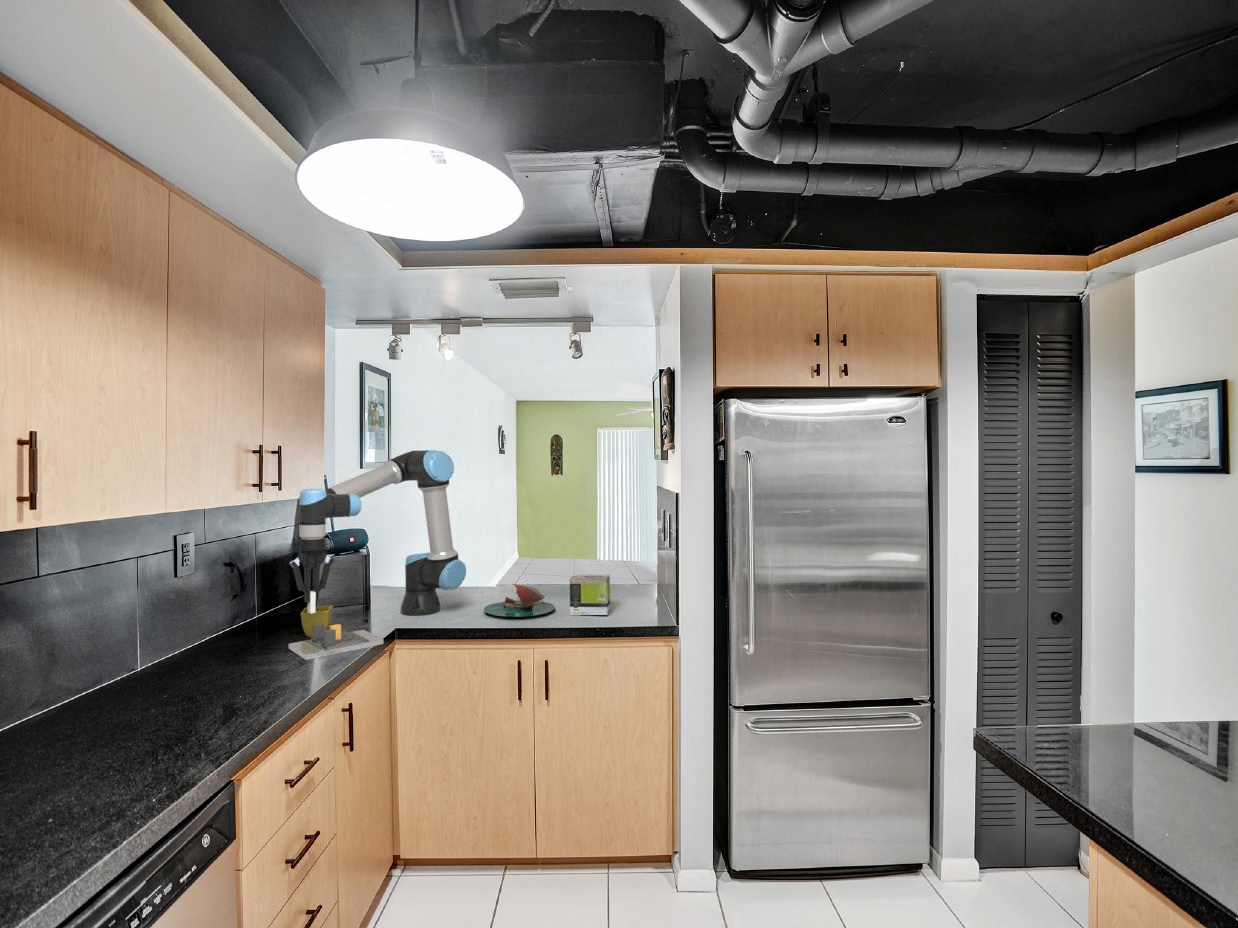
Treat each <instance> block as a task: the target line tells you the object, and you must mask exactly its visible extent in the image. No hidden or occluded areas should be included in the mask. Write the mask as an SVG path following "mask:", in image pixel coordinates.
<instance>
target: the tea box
mask: <svg viewBox="0 0 1238 928" xmlns="http://www.w3.org/2000/svg"><path fill="white" fill-rule="evenodd" d="M610 578H611V576H610V574H572V576H571V577H570V578H569V615H570V616H580V615H608V616H609V613H610V611H609V610H611V583H610V582H611V579H610ZM608 612H609V613H608Z"/></svg>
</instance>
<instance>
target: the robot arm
mask: <svg viewBox="0 0 1238 928" xmlns="http://www.w3.org/2000/svg"><path fill="white" fill-rule="evenodd" d="M454 472H455V465H454V462H453V460H452V458H451V456H450V455H449V454H448V453H447V452H445V451H442V450H437V449H430V450H429V449H427V450H425V449H424V450H410V451H407V452H405V453H402V454H400V455H397V456H395V457H392V458H390V459H388V460H386V461H385V462H384V463H383V465H381V466H378V467H375V468H373V469H371V470H369V471H366V472H364V473H361V474H359V475H357V476H353V477H352V478H349V479H348V480H347V479H346V480H345V481H342V482H340V483H338V484H335V485H333V486H331V487H329V488H305V489H302V490H301V491H300V494H299V500H298V501H299V502H298V507H299V508H298V509H299V514H298V515H299V518H298V520H299V521H298V522H299V525H298V526H299V528H298V533H299V536H298V537H300V538H299V540H298V554H297V556H296V558H295V559H294V560H290V561H289V562H288V563H289V566H290V567H291V568H292V571H293V575H294V579H295V583H296V586H297V590H298V591H301V592H303V594H304V603H307V606H306V607H307V612H308V613H310V614H311V613H315V607H316V602H318V601H319V598H320V592H321V590H325V588H326V585H327V581H328V578H329V575H330V570H331V566H332V564H334V562H335V559H334V558H333V557H330V556H327V555H328V554H327V552H326V538H325V536H326V530H327V529H326V527H327V526H326V522H327V519H330V518H332V519H333V518H350V517H356V516H358V515H359V514H360V512H361V509H362V501H361V498H363V497H365V496H367V495H369V494H372V493H374V492H376V491H378V490H381V489H383V488H385V487H387V486H389V485H392V484H393V485H398V484H401V483H403V482H409V481H416V484H417V488H418V489H419V490H420V491H422V496H423V505H424V513H425V519H426V526H427V527H426V528H427V535H428V542H429V543H428V544H429V552H423V553H415V554H410V555H408V556H406V558H405V564H404V567H405V572H404V575H405V577H404V578H405V592H404V593H405V594H404V596H403V600H402V603H401V605H400V614H402V615H406V616H426V615H432V614H436V613H438V612H440V611H441V602H440V600H439V597H438V593H437V589H440V590H442V591H443V590H444V591H447V590H448V591H453V590H456V589H458V588H459V587H460V586H461V585H462V584H463V581H464V580H465V578H466V574H467V567H466V563H464V562H463V561H462V560H460V559H459V553H458V551H457V550H456V549H454V545H453V536H452V535H453V534H452V528H451V526H452V525H451V519H450V513H449V512H450V511H449V504H448V496H447V495H448V494H447V488H448V486H449V485H450V479H451V478H453V474H454ZM323 563H324V564H323ZM300 564H301V565H302V566H303V570H304V571H303V572H304V575H303V576H302V572H301V570H300ZM322 564H323V568H322V572H321V575H320V570H321V565H322ZM303 579H304V580H303ZM311 584H312V585H311ZM311 588H312V589H311Z"/></svg>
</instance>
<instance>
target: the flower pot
mask: <svg viewBox="0 0 1238 928" xmlns="http://www.w3.org/2000/svg"><path fill="white" fill-rule="evenodd" d="M307 607H308V606H306V607H305V608H303V610H302V611H301V612H300V620H301V626H302V629H303V632H304V634H305V635H306V636H307V637H309V638H311V637H312V625H314V624H320V623H323V624H324V631H325V630H329V626H331V623H332V618H333V617H332V615H333V605H322V606H315V613H311V614H310V613H308V612H307Z"/></svg>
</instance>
